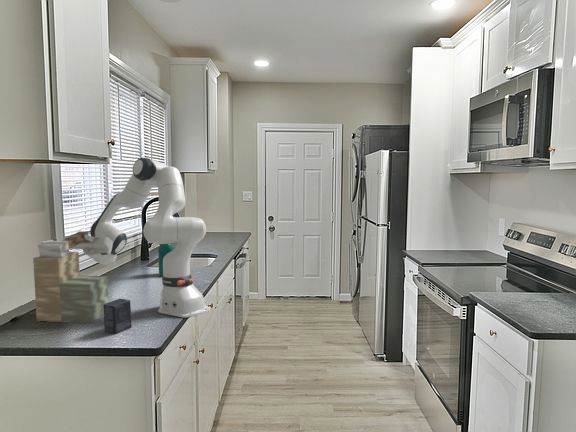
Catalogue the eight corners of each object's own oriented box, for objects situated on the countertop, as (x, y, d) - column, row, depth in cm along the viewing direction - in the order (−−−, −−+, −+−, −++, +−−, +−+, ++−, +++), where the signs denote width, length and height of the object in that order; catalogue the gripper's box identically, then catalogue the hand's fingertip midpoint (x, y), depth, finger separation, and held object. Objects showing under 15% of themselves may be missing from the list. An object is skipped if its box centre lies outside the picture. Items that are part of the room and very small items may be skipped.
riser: (58, 310, 180) (55, 251, 177) (108, 311, 178) (106, 252, 176) (36, 321, 166) (33, 258, 163) (91, 322, 164) (88, 258, 162)
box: (120, 325, 161) (119, 298, 160) (131, 327, 159) (131, 299, 158) (104, 332, 154) (102, 303, 153) (115, 334, 152) (114, 305, 151)
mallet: (75, 237, 187) (73, 226, 186) (94, 238, 186) (92, 227, 185) (40, 257, 165) (37, 244, 164) (61, 257, 164) (59, 245, 163)
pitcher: (162, 273, 247) (161, 235, 245) (177, 273, 247) (176, 236, 245) (157, 277, 238) (155, 238, 236) (172, 277, 237) (171, 238, 235)
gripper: (73, 240, 197) (57, 229, 184) (116, 241, 195) (102, 229, 183) (70, 253, 194) (53, 242, 182) (113, 254, 193) (99, 243, 180)
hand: (78, 236), depth 182 cm, fingers closed on mallet, 4 cm apart
